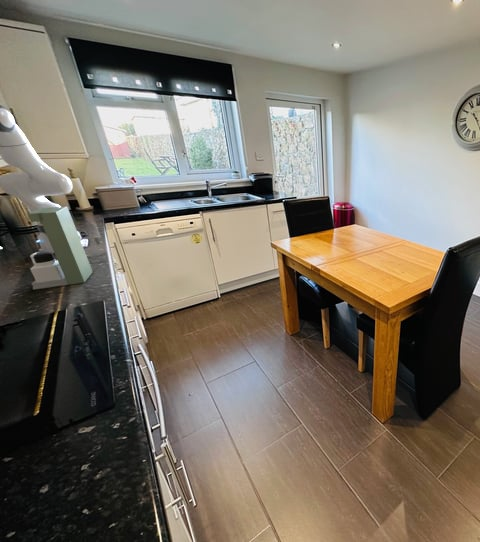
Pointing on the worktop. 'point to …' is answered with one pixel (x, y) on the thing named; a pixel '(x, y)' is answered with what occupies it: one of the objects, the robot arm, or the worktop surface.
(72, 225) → the sage green upright pillar
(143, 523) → the worktop surface
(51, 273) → the medicine bottle
